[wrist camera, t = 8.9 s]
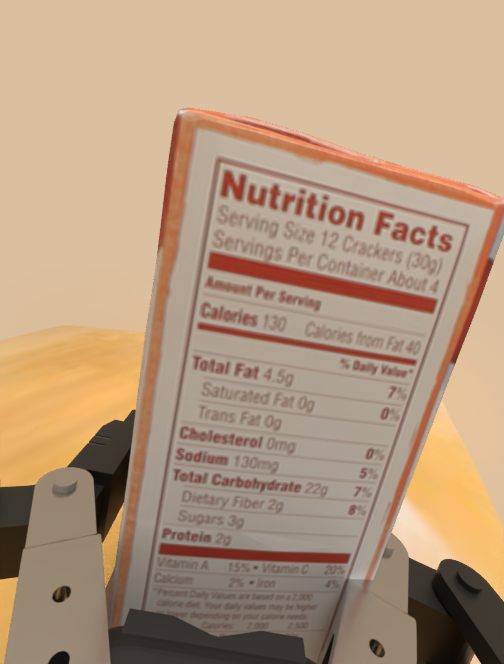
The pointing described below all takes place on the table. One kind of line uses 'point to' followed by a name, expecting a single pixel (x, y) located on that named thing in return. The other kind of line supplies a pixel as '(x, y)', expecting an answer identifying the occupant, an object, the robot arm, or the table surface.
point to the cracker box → (288, 371)
